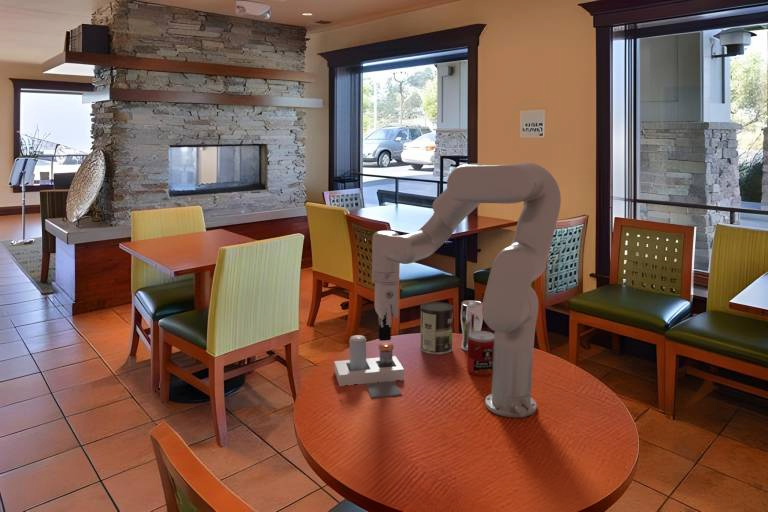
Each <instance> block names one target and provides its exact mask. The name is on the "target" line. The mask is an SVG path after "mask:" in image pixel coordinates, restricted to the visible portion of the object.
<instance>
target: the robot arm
mask: <svg viewBox="0 0 768 512" xmlns="http://www.w3.org/2000/svg"><path fill="white" fill-rule="evenodd" d="M448 175H449V176H448V177H447V180H446V188H445V189H444V191H442V192H441V193H440V195H438V196H437V198H435V199H434V201H433V202H432V210H433V214H432V215H431V217H430V218H429V219H428V221H426V222H425V224H424V225H423V226H422V227H420V229H418V230H417V231H413V232H410V233H407V234H403V235H400V234H399V233H398V232H396V231H393V230H380V231H379V230H378V231H376V232H374V234H373V235H372V247H371V249H372V250H371V252H372V255H371V265H372V266H371V282H372V283H373V284H374V310H375V313H376V314H377V315H378V331H377V332H378V337H377V338H378V340H379V341H380V342H381V341H382V342H383V341H391V339H392V338H391V337H392V336H391V335H392V317H393V318H394V319H396V320H397V319H399V295H398V293H399V292H398V284H399V283H400V271H401V270H400V267H401V266H400V264H403V265H410V264H412V263H416V262H418V261H420V260H423V259H426V258H428V257H430V256H432V255H433V254H434V253H435V252H436V251H437V250H439V248H441V247H442V245H443V244H445V243H446V242H447V241H448V240H449V239H450V237H451V236H452V235H453V233H454V232H455V231H456V230H457V227H458V226H459V225H460V224H461V223H462V222H463V221H464V220H465V219H466V218H467V217H468V216H469V215H470V214H471V213H472V212H473V211H474V210H475V209H476V208H477V207H478V206H480V204H502V205H503V204H508V205H509V204H519V203H522V202H523V207H522V209H521V212H520V215H519V217H518V220H517V222H516V223H517V224H516V228H515V232H514V235H513V239H512V242H511V244H510V245H509V246H507V247H505V248H503V249H502V250H501V251H499V253H497V255H496V257H495V258H494V259H493V262H492V265H491V268H490V271H489V275H488V280H487V284H486V287H485V292H484V295H483V300H482V303H483V304H482V315H483V321H484V323H485V324H486V326H487V327H488V328H489V329H490V330H492V331H494V333H493V334H494V349H493V373H492V375H491V378H492V379H491V393H489V394H488V395H487V396H486V397H485V399H484V405H485V407H486V408H487V410H489V411H490V412H491V413H494V414H496V415H498V416H502V417H505V418H525V417H529V416H532V415H533V414H535V413H536V411H537V407H538V406H537V402H536V401H535V399H534V398H533V397H531V396H532V383H533V382H532V380H533V363H534V348H535V347H534V345H535V335H536V325H537V320H538V314H539V298H538V295H537V293H536V290H535V289H534V288H533V287H532V286H531V285H532V282H534V281H536V280H537V279H538V278H539V277H540V276H541V275H542V274H543V273H544V271H545V269H546V265H547V262H548V258H549V252H550V249H551V247H552V242H553V239H554V234H555V230H556V227H557V223H558V218H559V214H560V210H561V203H562V202H561V200H562V199H561V198H562V197H561V191H560V186H559V184H558V182H557V180H556V179H555V177H554V176H553V174H552V173H550V172H549V171H548V169H546V168H545V167H543V166H541V165H539V164H537V163H533V162H522V163H514V164H512V163H511V164H494V165H491V164H487V165H486V164H484V163H483V164H482V163H477V162H476V163H468V164H467V163H466V164H461V165H459V166H457V167H455V168H454V169H453V170H452V171H451V172H450V173H449V174H448Z"/></svg>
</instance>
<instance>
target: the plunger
mask: <svg viewBox="0 0 768 512" xmlns="http://www.w3.org/2000/svg"><path fill="white" fill-rule="evenodd" d="M378 350H379V357H380V367H382V368H383V367H392V356H393V350H394V344H393V343H390V342H383V343H379V344H378Z"/></svg>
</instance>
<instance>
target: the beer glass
mask: <svg viewBox="0 0 768 512" xmlns="http://www.w3.org/2000/svg"><path fill="white" fill-rule="evenodd" d="M482 304H483V301H479V300H471V299H469V300H467V299H466V300H463V301H462V302H461V306H460V307H461V308H460V324H461V331H462V333H461V334H462V341H461V346H460V348H461V350H462V351H464V352H465V351H466V352H468V336H469V333H471V332H473V331H482V325H483V321H484V319H483V315H482Z"/></svg>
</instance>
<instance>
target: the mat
mask: <svg viewBox="0 0 768 512" xmlns="http://www.w3.org/2000/svg"><path fill="white" fill-rule="evenodd" d="M365 387H366V389H367V391H368V394H369V395H370V397H371V399H379V398H387V397H398V395H399V396H402V392H401V390H400V388H399V387H398V385H397V383H396V381H390V382H379V383H369V384H365Z"/></svg>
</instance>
